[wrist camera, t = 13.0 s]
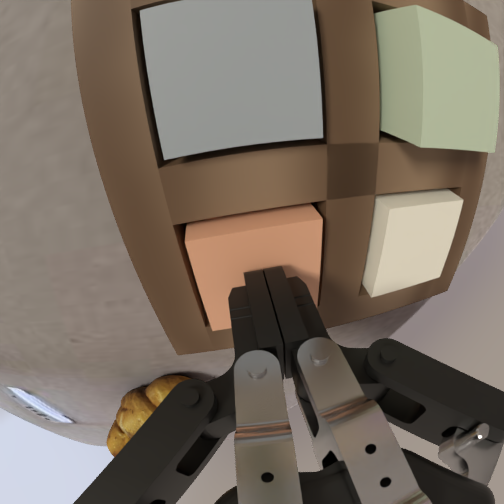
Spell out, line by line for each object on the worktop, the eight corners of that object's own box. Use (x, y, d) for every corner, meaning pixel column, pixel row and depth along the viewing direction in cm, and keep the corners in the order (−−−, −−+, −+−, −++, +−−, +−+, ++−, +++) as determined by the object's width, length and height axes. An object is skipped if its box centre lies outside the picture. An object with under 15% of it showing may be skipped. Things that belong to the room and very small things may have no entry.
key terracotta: (298, 187, 12) (322, 218, 10) (299, 272, 15) (316, 311, 13) (188, 205, 12) (184, 241, 9) (209, 288, 15) (212, 331, 12)
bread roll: (154, 352, 20) (149, 444, 14) (242, 383, 25) (255, 457, 18) (106, 397, 25) (100, 460, 18) (176, 419, 29) (179, 475, 23)
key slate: (285, 13, 8) (310, -6, 5) (295, 123, 10) (323, 137, 8) (157, 28, 7) (139, 10, 5) (175, 140, 10) (164, 160, 8)
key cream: (428, 176, 13) (463, 199, 10) (413, 248, 16) (439, 277, 13) (356, 181, 12) (389, 209, 10) (348, 262, 15) (371, 297, 13)
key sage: (451, 41, 7) (497, 46, 4) (451, 132, 10) (494, 153, 7) (368, 15, 7) (416, 4, 4) (374, 127, 10) (420, 147, 7)
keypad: (438, 15, 8) (486, 15, 5) (418, 257, 19) (447, 290, 15) (106, 8, 7) (71, -14, 4) (179, 305, 17) (177, 355, 14)
